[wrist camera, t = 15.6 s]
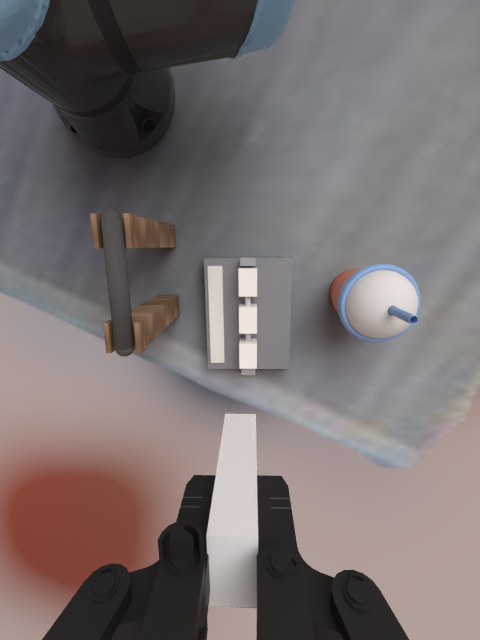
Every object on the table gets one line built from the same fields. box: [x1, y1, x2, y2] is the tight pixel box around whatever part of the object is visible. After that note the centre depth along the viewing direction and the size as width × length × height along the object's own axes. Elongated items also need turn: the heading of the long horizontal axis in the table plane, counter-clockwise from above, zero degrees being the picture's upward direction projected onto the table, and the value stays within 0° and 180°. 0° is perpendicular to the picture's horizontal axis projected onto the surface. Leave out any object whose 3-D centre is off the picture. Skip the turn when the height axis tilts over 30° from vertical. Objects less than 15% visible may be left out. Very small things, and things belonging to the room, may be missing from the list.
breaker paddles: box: [238, 267, 257, 369], centre depth 42 cm, size 14×2×2 cm, turn 1°
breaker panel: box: [204, 257, 293, 375], centre depth 44 cm, size 16×12×5 cm
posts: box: [90, 213, 180, 353], centre depth 37 cm, size 13×4×17 cm, turn 1°
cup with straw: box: [330, 264, 420, 342], centre depth 36 cm, size 9×9×18 cm
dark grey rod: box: [101, 209, 134, 356], centre depth 29 cm, size 14×2×2 cm, turn 1°
